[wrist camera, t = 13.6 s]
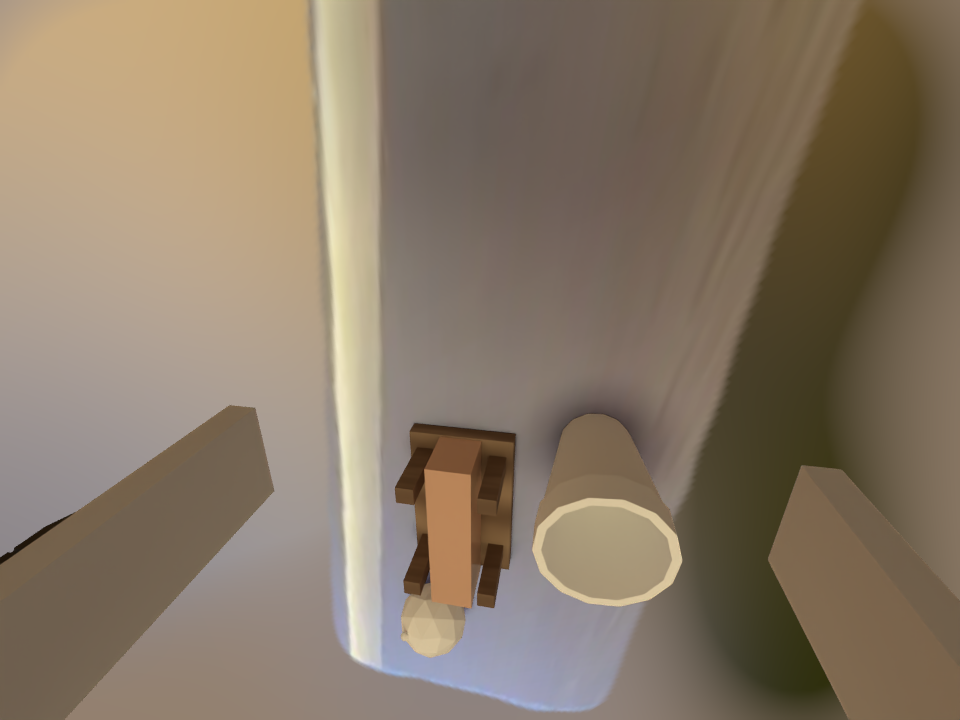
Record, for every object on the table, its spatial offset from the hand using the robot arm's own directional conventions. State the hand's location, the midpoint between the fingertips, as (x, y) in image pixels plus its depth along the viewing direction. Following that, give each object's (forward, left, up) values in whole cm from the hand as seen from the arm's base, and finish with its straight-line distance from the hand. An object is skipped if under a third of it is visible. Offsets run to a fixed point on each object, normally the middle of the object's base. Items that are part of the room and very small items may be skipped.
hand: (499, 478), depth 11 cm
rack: (+24, -7, -27) cm, 37 cm away
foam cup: (+16, +5, -27) cm, 32 cm away
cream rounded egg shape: (+39, -10, -27) cm, 48 cm away
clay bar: (+24, -7, -25) cm, 36 cm away
